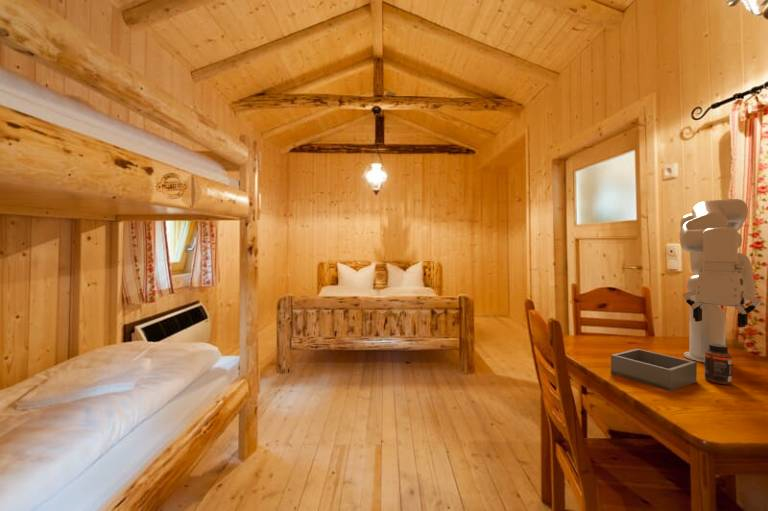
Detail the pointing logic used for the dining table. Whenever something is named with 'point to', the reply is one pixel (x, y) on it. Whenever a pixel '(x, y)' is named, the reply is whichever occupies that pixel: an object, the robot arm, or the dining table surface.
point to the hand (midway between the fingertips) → (719, 323)
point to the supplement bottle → (718, 364)
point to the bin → (654, 369)
